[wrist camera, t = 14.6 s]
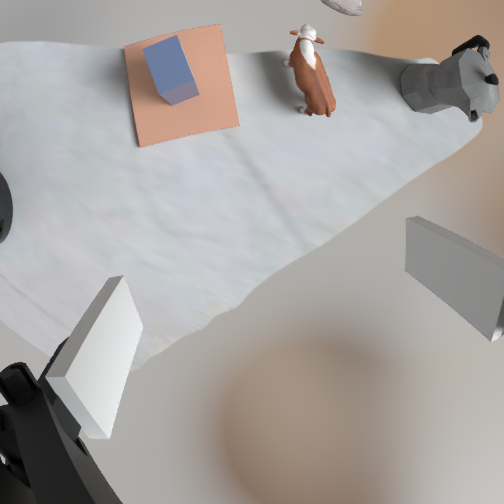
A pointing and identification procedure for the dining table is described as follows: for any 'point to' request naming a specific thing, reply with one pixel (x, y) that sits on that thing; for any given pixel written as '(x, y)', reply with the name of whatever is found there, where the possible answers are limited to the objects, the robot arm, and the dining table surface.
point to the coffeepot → (454, 82)
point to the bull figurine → (311, 73)
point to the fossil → (345, 6)
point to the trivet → (194, 109)
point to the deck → (171, 70)
